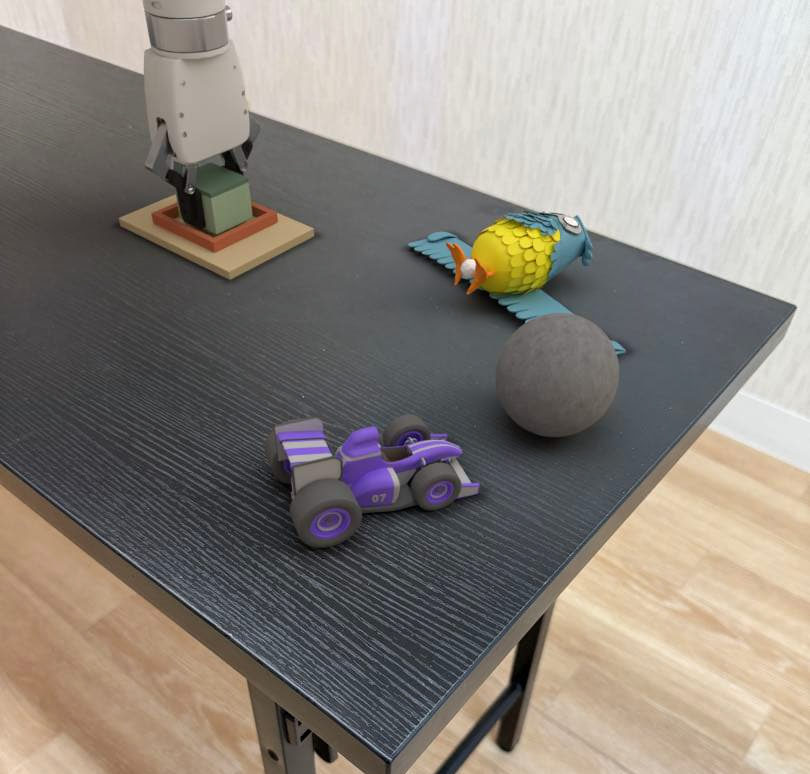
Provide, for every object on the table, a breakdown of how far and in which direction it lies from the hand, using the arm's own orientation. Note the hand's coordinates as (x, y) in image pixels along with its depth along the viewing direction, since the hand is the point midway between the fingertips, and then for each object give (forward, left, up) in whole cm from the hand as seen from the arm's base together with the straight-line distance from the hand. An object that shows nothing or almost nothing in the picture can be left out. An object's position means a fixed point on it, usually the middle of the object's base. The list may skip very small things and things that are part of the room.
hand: (215, 213), depth 90 cm
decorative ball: (+47, -5, -2) cm, 47 cm away
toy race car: (+41, -21, -2) cm, 46 cm away
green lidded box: (0, 0, 0) cm, 0 cm away
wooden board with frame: (0, 0, -2) cm, 2 cm away
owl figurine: (+33, +11, -2) cm, 35 cm away
